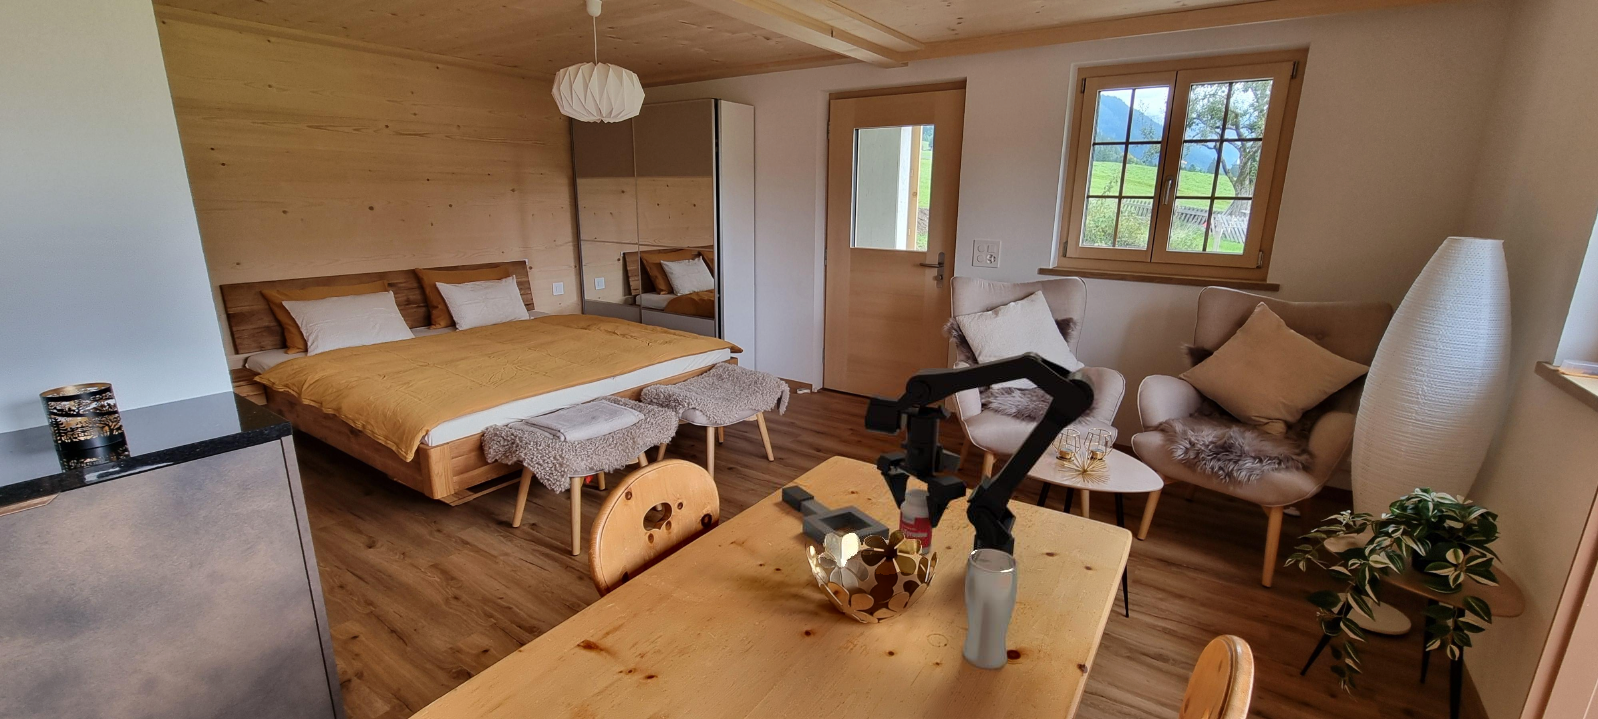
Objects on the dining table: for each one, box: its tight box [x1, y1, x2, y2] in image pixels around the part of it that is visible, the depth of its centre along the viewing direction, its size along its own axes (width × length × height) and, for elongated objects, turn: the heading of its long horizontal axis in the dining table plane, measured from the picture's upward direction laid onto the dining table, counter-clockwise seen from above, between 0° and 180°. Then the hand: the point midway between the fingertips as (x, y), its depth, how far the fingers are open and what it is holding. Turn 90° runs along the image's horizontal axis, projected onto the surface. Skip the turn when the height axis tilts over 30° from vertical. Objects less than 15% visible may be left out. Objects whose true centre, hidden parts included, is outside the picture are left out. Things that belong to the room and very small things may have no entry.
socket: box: [781, 484, 890, 548], centre depth 140 cm, size 27×12×3 cm, turn 32°
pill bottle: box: [898, 488, 934, 555], centre depth 129 cm, size 6×6×11 cm
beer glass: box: [962, 549, 1019, 670], centre depth 97 cm, size 7×7×15 cm
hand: (917, 518), depth 129 cm, fingers open, 9 cm apart
